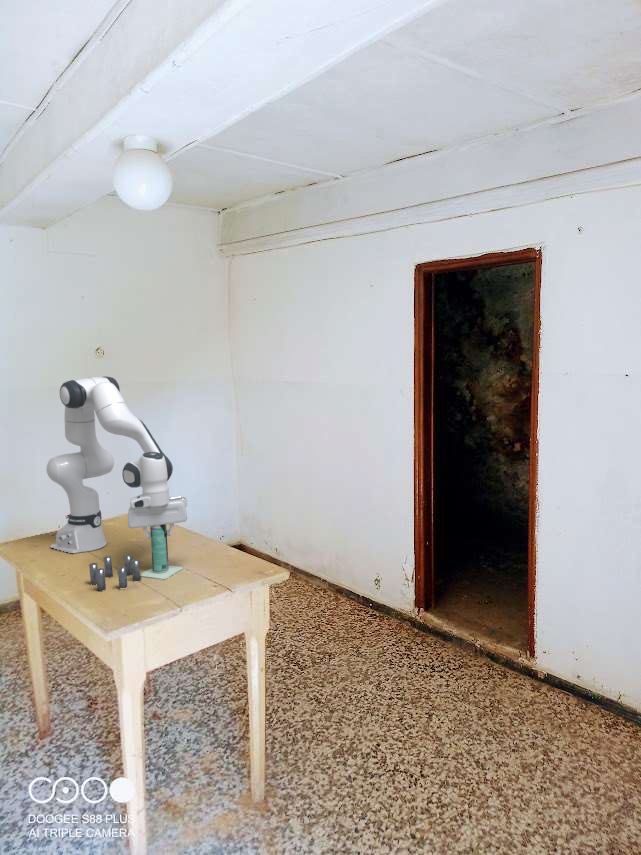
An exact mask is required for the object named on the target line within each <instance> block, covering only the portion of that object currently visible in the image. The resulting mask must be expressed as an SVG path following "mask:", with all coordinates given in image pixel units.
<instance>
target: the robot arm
mask: <svg viewBox="0 0 641 855" xmlns="http://www.w3.org/2000/svg"><path fill="white" fill-rule="evenodd" d="M120 391H121V388H120V385H119V383H118V381H117V380H116V379H115V378H114V377H111V376H91V377H90V376H88V377H86V378H79V379H75V380H73V379H70V380H67V381H65V382H63V383H62V384H61V386H60V388H59V398H60V399H59V400H60V401H61V403H62V404H63V405H64V436H65V438H66V440H67V441H68V442H69V443H70V444H72V445H75V446H78V447H79V448H80V451H78V452H71V453H64V454H60V455H57V456H54V457H51V458H50V459H49V460H48V462H47V464H46V474H47V476H48V478H49V479H50V480H51V481H52V482H54V483H55V484H57V485H58V486H60V487H61V488H62V489H63V490H64V492H65V493H66V495H67V498H68V503H69V505H68V506H69V511H70V513H69V514H68V515H65V519H68V520H67V522H66V523H65V525H63V527H61V528H60V529H59V530H58V531H57V532H56V535H55V542H53V543H52V544H50V546H49V548H50V547H51V548H54V549H53V550H55V549H57V550H56V551H59V550H61V551H60V552H63V551H64V552H63V553H66V552H68V553H67V554H70V553H74V554H79V553H84V552H91V551H96V550H99V549H102V548H104V547H105V546H107V545H108V544H107V543H108V542H107V540H106V537H105V534H104V529H103V528H104V527H103V524H102V512H101V510H100V500H99V494H98V491H97V490H96V489H94V488H93V487H90V486H86V485H84V482H83V480H86V479H92V478H98V477H102V476H105V475H107V474H109V473H111V472H112V471H113V469H114V464H115V461H114V457H113V455H112V453H111V452H109V451H108V450H107V449H105V448H104V447H103V446H102V445H100V444H101V443H99V441H98V438H97V435H96V433H97V432H96V417H97V420H98V422H99V424H100V426H101V427H102V428H103V430H104V431H106V432H108V433H109V434H114V435H118V436H123V437H126V438H130V439H133V440H134V441H136V443H138V445H139V446H140V448H141V450H142V451H143V454H141V456H140V457H139V458H137V459H135V460H132V461H131V460H130V461H129V462H126V463H125V465H124V466H123V468H122V474H121V475H122V479H123V482H124V483H125V485H126V486H128V487H129V488H132V489H133V488H141V489H142V490H141V491H142V494H139V495H136V496H134V497H132V498H130V500H129V505H130V506H129V508H128V511H127V512H128V513H127V526H128V528H130V529H137V528H142V531H143V532H144V534H145V535H146V539H148V540H149V539H151V531H149V532H148V527H150V526H155V525H164V524H166V525H169V529H166V530H167V537H171V536H172V531H173V529H174V524H178V523H179V524H180V523H186V522H187V521H188V512H187V510H186V508H187V506H188V499H187V498H186V497H184V496H182V495H179V496H170V493H169V492H170V491H169V486H168V481H169V480H170V479H171V476H172V475H173V469H174V467H173V464H172V461H171V460H170V459H169V458H168V457H167V455H166V454H165V453H164V452H163V451H162V449H161V447H160V446H159V444H158V443H157V441H156V440H155V438H154V436H153V434H152V433H151V432H150V430H149V429H148V427H147V425H146V424H145V423H144V422H143V421H142V420H141V419H140V418H138V417H136V416H135V415H134V414H133V413H132V412H131V410H130V409H129V407H128V405H127V403H126V401H125V399H124V397H123V396H122V394H121V392H120ZM51 548H50V549H51Z"/></svg>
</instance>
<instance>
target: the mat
mask: <svg viewBox="0 0 641 855" xmlns="http://www.w3.org/2000/svg"><path fill="white" fill-rule="evenodd" d="M168 566H169V570H168V571H167V572H165V573H154V572H153V567H151V568H150V569H148V570H145V571H144V572H143V573H141V578H146V579H153V578H154V580H160V579H161V580H162V581H166V580H168V579H169V578H171V577H173V576H174V575H176V574H177V573H179V572H181V571H182V570H184V567H181V566H175V565H174V566H173V565H168ZM172 575H173V576H172ZM167 578H168V579H167ZM161 580H160V581H161Z"/></svg>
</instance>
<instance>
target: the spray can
mask: <svg viewBox="0 0 641 855" xmlns="http://www.w3.org/2000/svg"><path fill="white" fill-rule="evenodd" d="M149 528H150V531H149V532H151V538H150V542H151V543H150V545H151V546H150V547H151V561H152V562H151V563H152V568H153V572H154V573H165V572H167V571H168V570H169V566H170V565H169V552H168V548H169V547H168V536H167V530H168V529H167V524H164V525H155V526H149Z"/></svg>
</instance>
